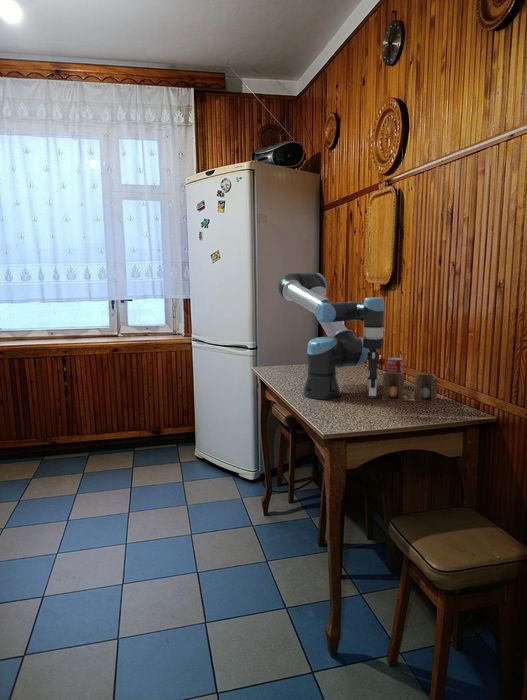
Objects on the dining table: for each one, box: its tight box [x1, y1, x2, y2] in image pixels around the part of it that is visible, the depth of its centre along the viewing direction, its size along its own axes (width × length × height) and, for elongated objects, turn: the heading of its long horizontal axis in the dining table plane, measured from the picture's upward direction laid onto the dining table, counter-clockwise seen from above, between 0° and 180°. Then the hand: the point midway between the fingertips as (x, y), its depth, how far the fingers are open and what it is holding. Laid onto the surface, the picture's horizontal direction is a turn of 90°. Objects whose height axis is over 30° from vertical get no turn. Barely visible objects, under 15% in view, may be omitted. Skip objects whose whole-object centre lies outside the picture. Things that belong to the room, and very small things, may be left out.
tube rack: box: [381, 372, 438, 403], centre depth 181 cm, size 20×7×10 cm, turn 79°
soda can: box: [385, 356, 404, 375], centre depth 201 cm, size 7×7×13 cm
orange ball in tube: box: [389, 386, 398, 398], centre depth 183 cm, size 4×4×4 cm
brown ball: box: [365, 378, 379, 389], centre depth 184 cm, size 4×4×4 cm
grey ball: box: [421, 388, 431, 399], centre depth 180 cm, size 4×4×4 cm
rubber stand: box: [367, 387, 377, 399], centre depth 184 cm, size 3×3×4 cm
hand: (371, 391), depth 184 cm, fingers open, 13 cm apart
